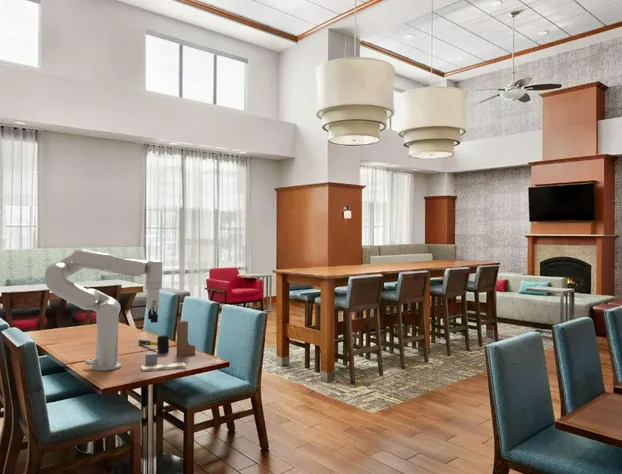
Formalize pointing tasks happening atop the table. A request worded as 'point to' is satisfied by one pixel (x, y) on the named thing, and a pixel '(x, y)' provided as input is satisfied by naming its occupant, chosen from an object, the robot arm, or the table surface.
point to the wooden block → (183, 340)
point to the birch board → (163, 366)
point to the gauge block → (151, 358)
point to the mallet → (158, 343)
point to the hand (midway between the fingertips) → (152, 320)
